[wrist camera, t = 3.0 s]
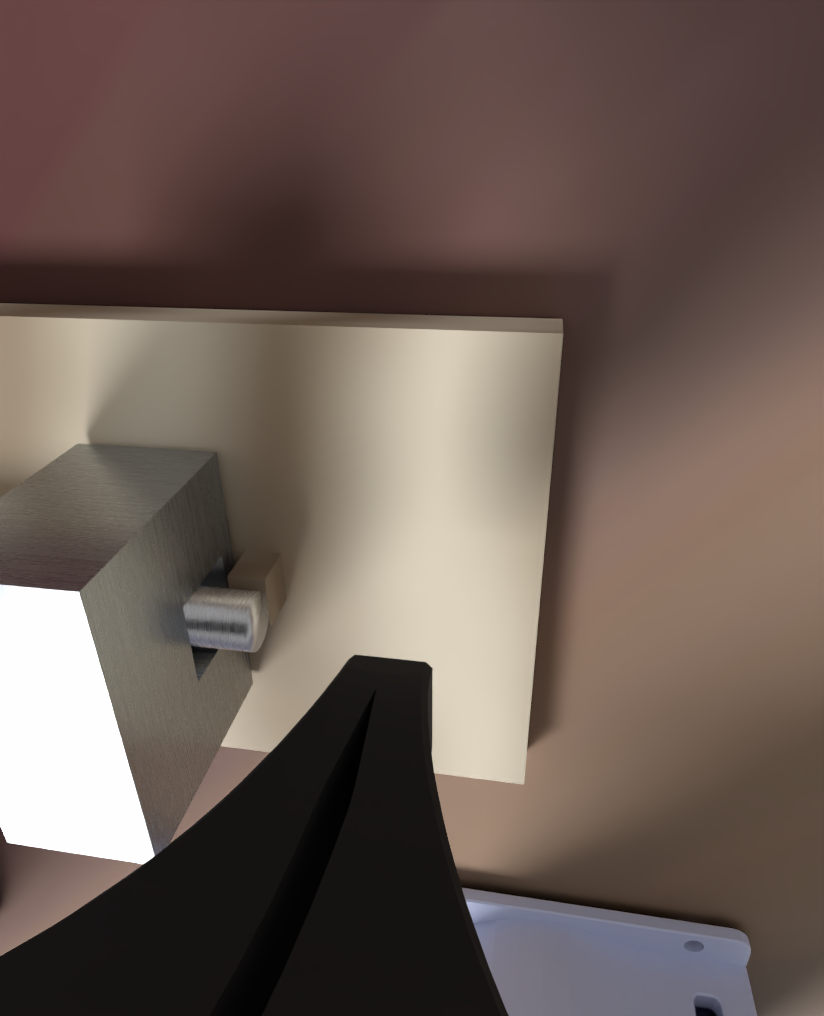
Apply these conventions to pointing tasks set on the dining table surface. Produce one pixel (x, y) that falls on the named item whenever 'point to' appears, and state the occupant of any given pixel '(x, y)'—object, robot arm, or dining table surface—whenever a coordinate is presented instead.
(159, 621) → the grey block with hole
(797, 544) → the dining table surface
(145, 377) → the bolt board
